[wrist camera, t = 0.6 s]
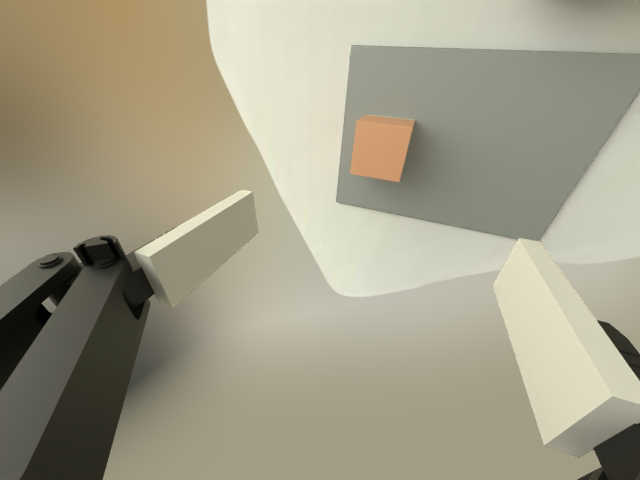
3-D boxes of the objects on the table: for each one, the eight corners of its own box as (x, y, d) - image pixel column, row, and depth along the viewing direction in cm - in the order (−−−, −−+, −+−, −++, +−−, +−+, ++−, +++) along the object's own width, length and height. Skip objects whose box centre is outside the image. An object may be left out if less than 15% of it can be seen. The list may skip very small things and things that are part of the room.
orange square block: (367, 114, 32) (356, 120, 27) (415, 119, 30) (412, 126, 25) (360, 161, 35) (349, 173, 30) (403, 167, 34) (399, 182, 29)
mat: (352, 45, 29) (351, 45, 29) (660, 55, 22) (663, 54, 21) (336, 200, 40) (336, 201, 40) (535, 241, 33) (536, 243, 33)
